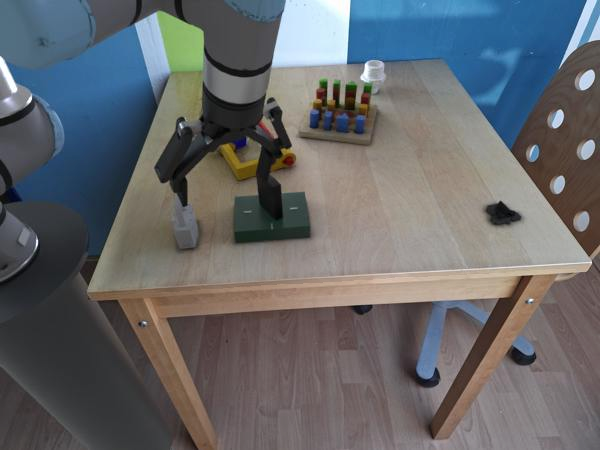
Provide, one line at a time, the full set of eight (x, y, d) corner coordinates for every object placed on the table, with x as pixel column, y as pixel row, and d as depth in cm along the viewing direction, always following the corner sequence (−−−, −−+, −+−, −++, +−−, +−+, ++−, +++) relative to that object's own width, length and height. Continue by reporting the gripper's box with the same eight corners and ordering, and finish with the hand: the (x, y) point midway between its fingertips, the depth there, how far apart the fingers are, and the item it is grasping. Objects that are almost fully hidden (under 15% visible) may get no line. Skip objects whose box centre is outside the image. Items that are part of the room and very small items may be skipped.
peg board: (298, 137, 105) (297, 105, 99) (313, 103, 117) (313, 73, 111) (369, 145, 101) (372, 113, 95) (377, 109, 113) (380, 79, 108)
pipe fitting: (357, 87, 123) (359, 59, 118) (381, 85, 124) (384, 58, 118) (361, 97, 119) (364, 69, 113) (386, 95, 119) (390, 68, 114)
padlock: (178, 223, 83) (166, 183, 76) (199, 221, 83) (189, 181, 76) (176, 250, 78) (163, 210, 71) (198, 247, 78) (187, 207, 71)
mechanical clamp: (248, 87, 111) (297, 144, 91) (251, 108, 115) (298, 167, 96) (179, 102, 105) (216, 167, 86) (184, 124, 110) (220, 190, 90)
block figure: (509, 193, 84) (527, 211, 80) (505, 202, 86) (523, 220, 82) (483, 199, 83) (500, 218, 79) (479, 208, 85) (496, 227, 81)
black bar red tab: (283, 217, 79) (280, 182, 74) (275, 220, 79) (273, 186, 73) (266, 200, 83) (262, 166, 77) (259, 203, 82) (255, 169, 76)
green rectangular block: (235, 243, 79) (233, 231, 77) (236, 207, 86) (234, 195, 84) (310, 237, 80) (310, 225, 77) (304, 202, 87) (304, 190, 85)
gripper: (310, 47, 56) (281, 151, 74) (115, 80, 46) (136, 190, 64) (338, 86, 53) (301, 184, 71) (137, 130, 43) (153, 231, 61)
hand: (223, 187), depth 67 cm, fingers open, 13 cm apart
